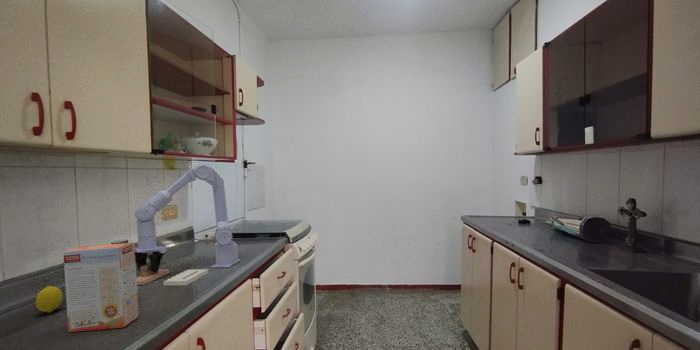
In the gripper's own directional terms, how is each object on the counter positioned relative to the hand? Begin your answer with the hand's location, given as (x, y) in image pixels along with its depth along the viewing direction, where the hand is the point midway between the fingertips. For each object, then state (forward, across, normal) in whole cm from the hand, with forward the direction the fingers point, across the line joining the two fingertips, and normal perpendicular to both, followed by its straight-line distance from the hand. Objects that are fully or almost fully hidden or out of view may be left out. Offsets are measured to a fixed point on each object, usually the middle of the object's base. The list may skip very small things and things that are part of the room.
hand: (149, 271), depth 108 cm
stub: (+3, 0, 0) cm, 3 cm away
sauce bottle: (+3, +12, -21) cm, 24 cm away
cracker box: (+3, +17, -32) cm, 36 cm away
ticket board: (+3, +16, 0) cm, 16 cm away
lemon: (+3, -8, -26) cm, 28 cm away
